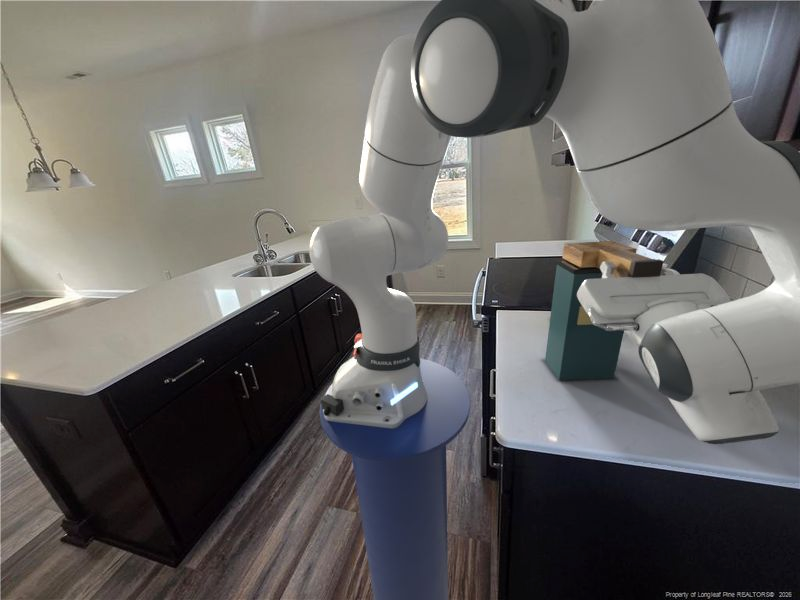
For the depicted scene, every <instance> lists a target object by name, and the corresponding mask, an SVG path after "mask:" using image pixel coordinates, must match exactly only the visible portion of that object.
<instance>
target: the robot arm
mask: <svg viewBox="0 0 800 600" xmlns="http://www.w3.org/2000/svg"><path fill="white" fill-rule="evenodd" d="M727 73H728V72H727V70H726V66H725V64H724V59H723V56H722V53H721V51H720V48H719V45H718V42H717V39H716V37H715V33H714V31H713V29H712V27H711V25H710V22H709V20H708V18H707V15H706V14H705V11H704V9H703V7H702V5H701V3H700V1H699V0H601V1H600V2H598V3H597V4H595V5H593V6H592V7H590V8H588V9H585V10H581V6H580V3H579V1H578V0H439V1H438V3H436V5H434V6H433V7H432V8H431V10H430V11H429V13H428V14H427V16H426V17H425V19H424V20H423V22H422V24H421V25H420V27H419V30H418V32H413V33H408V34H407V33H406V34H403V35H401V36H399V37H397V38H395V39H394V40H392V42H390V43H389V45H388V46H387V47H386V48H385V50H384V52H383V54H382V57H381V60H380V62H379V65H378V69H377V72H376V76H375V79H374V83H373V87H372V91H371V95H370V99H369V104H368V109H367V115H366V121H365V128H364V135H363V143H362V150H361V151H362V153H361V160H360V168H359V177H358V181H359V187H360V191H361V193H362V195H363V197H364V198H365V199H366V201H367V202H368V203H369V204H370V205H372V207H373V208H375V209H376V210H377V211H379V212H380V213H376V214H369V215H360V216H351V217H343V218H340V219H336V220H333V221H330V222H327V223H324V224H322V225H319V226H317V227H316V229H315V230H314V232H313V233H312V235H311V237H310V240H309V246H308V250H309V251H308V254H309V259H310V263H311V265H312V267H313V269H314V270H315V272H316V273H317V274H318V275H319V276H320V277H321V278H322V279H323V280H325V281H326V282H328V283H330V284H332V285H334V286H336V287H338V288H339V289H340V290H342V291H343V292H344V293H345V294H346V295H347V296H348V297H349V299H350V300H351V301H352V303H353V305H354V307H355V308H356V311H357V316H358V319H359V324H360V330H361V331H360V332H361V333H357V334H356V335H355V337H354V340H353V341H354V345H353V356H352V357H351V358H349V359H348V360H346V361H345V362H344V363H343V364H341V365H340V367H338V369H337V371H336V373H335V375H334V378H333V381H332V383H333V384H332V383H331V384H332V385H331V384H330V385H331V386H330V385H329V386H328V388H329V389H328V388H327V389H328V391H327V390H326V391H327V393H326V395H325V396H324V395H323V396H324V397H323V396H322V398H320V405H322V409H323V414H324V417H325V419H326V420H327V421H333V422H341V423H349V424H358V425H366V426H375V427H383V428H391V429H393V428H397V427H398V426H399V425H400V424H401V423H402V422H403V421H404V420H405V419H406V418H408V417H410V416H412V415H414V414H416V413H417V412H418V411H420V410H421V409H422V408H423V407H424V405H425V404H426V401H427V397H428V395H427V391H426V388H425V386H424V383H423V379H422V375H421V370H420V361H421V359H422V351H421V342H420V337H419V335H418V324H417V308H416V305H415V302H414V301H413V299H412V298H411V297H410V296H409V295H407V294H406V293H405V292H402V291H399V290H397V289H393V288H389V287H388V284H387V277H388V276H391V275H397V274H401V273H402V274H403V273H406V272H413V271H417V270H420V269H423V268H425V267H428V266H430V265H432V264H434V263H437V262H440V261H441V260H442V259H443V258H444V256H445V254H446V252H447V249H448V248H449V247H448V246H449V233H448V228H447V226H446V224H445V222H444V220H443V219H442V218H441V216H439V214H437V213H436V212H435V211H434V210H433V198H434V193H435V189H436V187H437V186H436V185H437V182H438V179H439V176H440V173H441V169H442V166H443V163H444V160H445V157H446V155H447V152H448V148H449V145H450V142H451V139H452V137H453V138H461V139H475V138H481V137H487V136H492V135H496V134H499V133H503V132H507V131H511V130H516V129H517V130H518V129H521V128H522V129H523V128H527V127H531V126H534V125H536V124H538V123H539V122H541V121H542V120H543V118H548V119H550V120H551V121H552V122H554V123H555V125H557V126H558V128H559V129H560V131H561V132H562V134H563V136H564V139H565V141H566V143H567V145H568V148H569V151H570V155H571V157H572V160H573V163H574V166H575V168H576V172H577V174H578V177H579V179H580V182H581V184H582V186H583V188H584V190H585V193H586V195H587V197H588V199H589V201H590V202H591V204H592V205H593V208H594V209H595V210H596V212H597V213H598V214H599V215H601V216H602V217H603V218H605V219H606V220H608V221H610V222H611V223H614V224H615V225H619V226H621V227H625V228H630V229H634V230H641V231H647V232H649V231H651V232H677V231H679V232H680V231H687V230H695V229H705V228H714V227H716V228H717V227H748V229H749V230H750V232H751V233H752V236H753V238H754V240H755V241H756V244H757V245H758V247H759V250H760V251H761V253H762V255H763V258H764V260H765V261H766V264H767V265H768V267H769V269H770V272H771V273H772V275H773V277H774V280H773V282H772V283H771V284H770V285H769V286H767V287H766V288H764V289H763V290H761V291H759V292H757V293H754V294H751V295H748V296H745V297H742V298H738V299H734V300H731V298H730V295H729V294H728V293H727V292H726V290H725V289H724V288H723V286H721V284H719V282H718V281H717V280H716V279H714V278H713V276H710V275H708V274H705V273H684V274H683V273H681V274H680V275H675V274H674V273H673V272H672V271H671V270H669V269H670V268H669V269H667V268H668V267H663V266H662V270H661V274H660V276H658V277H637V278H632V277H620V278H616V277H615V275H614V274H612V273H613V271H614V270H615V268H616V266H615V264H613V261H604V262H602V264H601V265H600V270H601V272H602V273H603V275H602V278H599V279H586V280H585V281H584V282H583V283H582V285H581V286H580V288H579V290H578V292H577V297H578V300H579V301H580V303H581V305H582V306H583V308H584V309H585V311H586V312H587V314H588V315H589V317H590V319H591V321H592V323H593V324H594V325H595V326H598V327H600V328H603V329H605V330H606V331H616V330H624V332H625V331H627V332H628V331H630V332H631V334H632V336H633V338H634V339H635V341H636V343H637V345H638V356H639V358H640V361H641V363H642V365H643V367H644V368H645V370H646V372H647V374H648V375H649V377H650V379H651V381H652V383H653V385H654V387H655V389H656V390H657V392H659V394H661V395H663V396H665V397H667V398H668V400H669V401H670V403H671V405H672V406H673V408H674V409H675V411H676V412H677V414H678V415H679V416H680V418H681V420H683V422H684V424H685V425H686V426H687V428H688V429H689V430H690V431H691V433H692V434H693V435H694V436H695V437H696V439H697V440H698V441H699V442H702V443H706V444H708V445H725V444H732V443H740V442H741V443H742V442H748V441H749V442H750V441H757V440H763V439H769V438H772V437H775V436H776V435H777V434H778V433H779V432H781V428H780V426H779V425H780V424H779V423H778V421H777V418H776V417H775V415H774V412H773V411H772V409H771V407H770V405H769V404H768V402H767V401H766V399H765V396H764V395H763V394H762V392H761V391H764V390H765V391H766V390H769V389H776V388H780V387H786V386H792V385H799V384H800V151H799V150H798V149H797V148H796V147H794V146H792V145H791V144H789V143H786V142H785V141H780V140H779V141H778V140H765V141H764V140H763V141H762V140H761V141H760V140H758V139H756V137H754V136H753V135H751V134H750V132H749V131H747V129H746V128H745V127H744V125H743V124H742V123H741V121H740V119H739V117H738V115H737V112H736V109H735V105H734V101H733V96H732V90H731V87H730V82H729V77H728V74H727ZM653 259H654V260H656V258H653ZM610 274H612V275H610ZM387 421H388V422H387Z"/></svg>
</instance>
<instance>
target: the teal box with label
mask: <svg viewBox="0 0 800 600" xmlns="http://www.w3.org/2000/svg"><path fill="white" fill-rule="evenodd" d="M554 263H555V265H556V268H555V270H556V271H555V276H554V278H555V279H554V285H553V293H552V294H553V295H552V301H551V310H550V318H549V325H548V326H549V327H548V333H547V342H546V350H545V359H544V361H545V363H546V364H547V366H548V367H549V368H550V370H551V372H553V374H554V375H555V377H556V378H557V379H558V380H559V381H572V380H573V381H577V380H601V379H602V380H605V379H615V374H616V370H617V365H618V361H619V355H620V351H621V346H622V343H623V337H624V333H625V330H616V331H606V330H605V329H603V328H600V327H598V326H595V325H594V324H593V323H592V321H591V319H590V317H589V315H588V314H587V312H586V311H585V309H584V308H583V306H582V305H581V303H580V301H579V300H578V297H577V292H578V290H579V288H580V286H581V285H582V283H583V282H584V281H585V280H586V279H599V278H602V275H603V273H602V272H601V270H600V269H599V268H597V267H586V268H580V267H578V266H576V265H575V264H573V263H571V262H569V261H567V260H565V259H563V258H555V261H554ZM610 275H611V274H610ZM616 278H617V277H616Z"/></svg>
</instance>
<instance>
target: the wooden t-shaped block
mask: <svg viewBox="0 0 800 600" xmlns="http://www.w3.org/2000/svg"><path fill="white" fill-rule="evenodd" d="M637 251H638V248H635V247H632V246H629V245H626V244H623V243H620V242H616V241H613V240H603V241H587V242H586V241H585V242H567V243H563V249H562V257H561V259H565V260H567V261H569V262H571V263H573V264H575V265H576V266H578V267H580V268H586V267H597V268H599V269H600V265H601V264H602V262H604V261H613V264H615V266H616V268H615V270H614V271H613V273H612V274H614V275H615V277H617V278H620V277H632V278H637V277H658V276H660V274H661V270H662V266H663V263H664V260H663V259H655V258H651V257H648V256H645V255H642V254H639V253H637ZM654 259H655V260H654ZM612 274H611V275H612Z"/></svg>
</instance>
